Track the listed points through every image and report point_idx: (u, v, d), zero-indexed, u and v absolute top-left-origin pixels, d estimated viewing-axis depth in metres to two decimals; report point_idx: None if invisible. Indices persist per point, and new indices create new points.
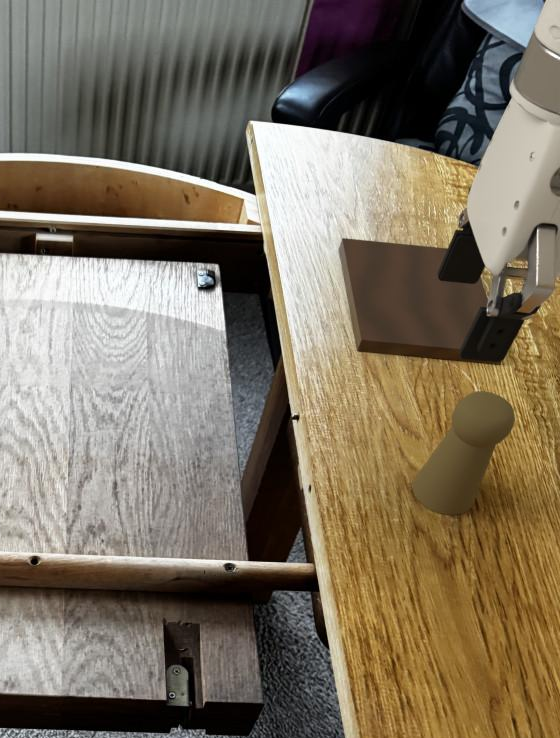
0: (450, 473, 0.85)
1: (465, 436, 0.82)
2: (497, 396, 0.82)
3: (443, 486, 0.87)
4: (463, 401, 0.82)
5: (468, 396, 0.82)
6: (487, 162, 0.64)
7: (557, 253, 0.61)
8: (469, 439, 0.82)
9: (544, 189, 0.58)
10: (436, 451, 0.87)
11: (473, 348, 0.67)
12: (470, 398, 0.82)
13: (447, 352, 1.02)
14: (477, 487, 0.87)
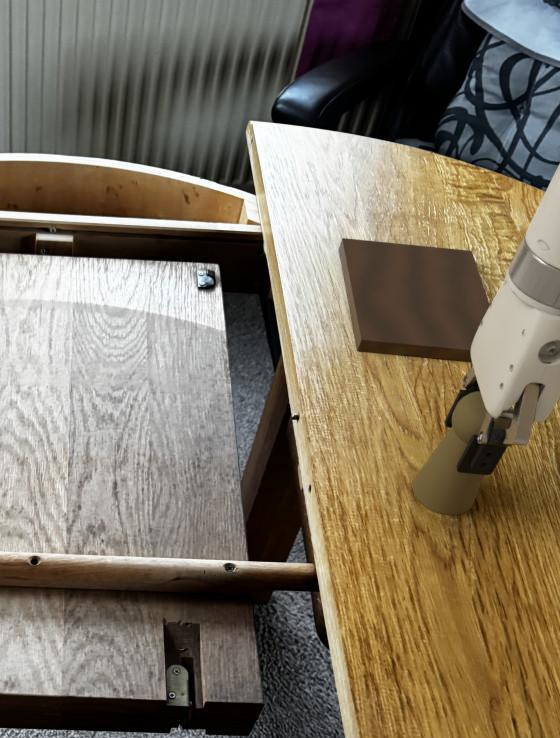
0: (450, 473, 0.85)
1: (465, 436, 0.82)
2: None
3: (443, 486, 0.87)
4: (463, 401, 0.82)
5: (468, 396, 0.82)
6: (487, 323, 0.78)
7: (544, 404, 0.75)
8: (469, 439, 0.82)
9: (533, 358, 0.72)
10: (436, 451, 0.87)
11: (467, 465, 0.83)
12: (470, 398, 0.82)
13: (447, 352, 1.02)
14: (477, 487, 0.87)
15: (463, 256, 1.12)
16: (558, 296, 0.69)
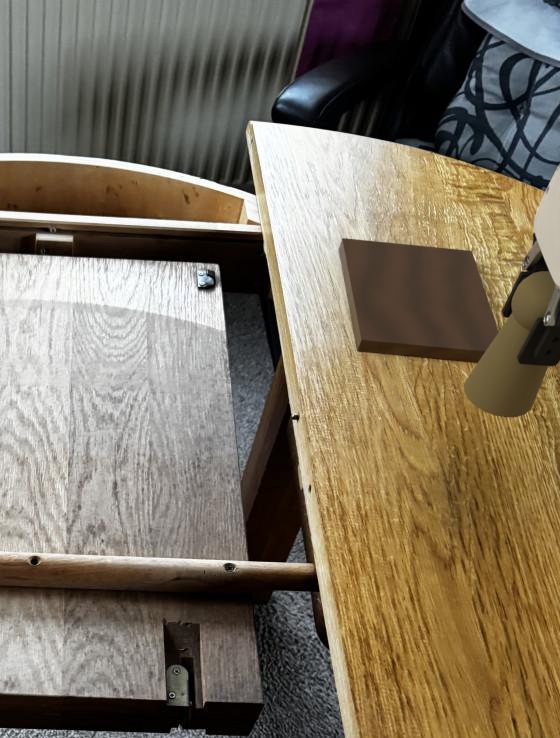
0: (509, 367, 0.76)
1: (528, 321, 0.73)
2: None
3: (500, 383, 0.78)
4: (525, 282, 0.73)
5: (531, 276, 0.73)
6: (555, 186, 0.69)
7: None
8: (532, 325, 0.73)
9: None
10: (492, 344, 0.78)
11: (530, 354, 0.74)
12: (533, 277, 0.73)
13: (447, 352, 1.02)
14: (538, 384, 0.78)
15: (463, 256, 1.12)
16: None
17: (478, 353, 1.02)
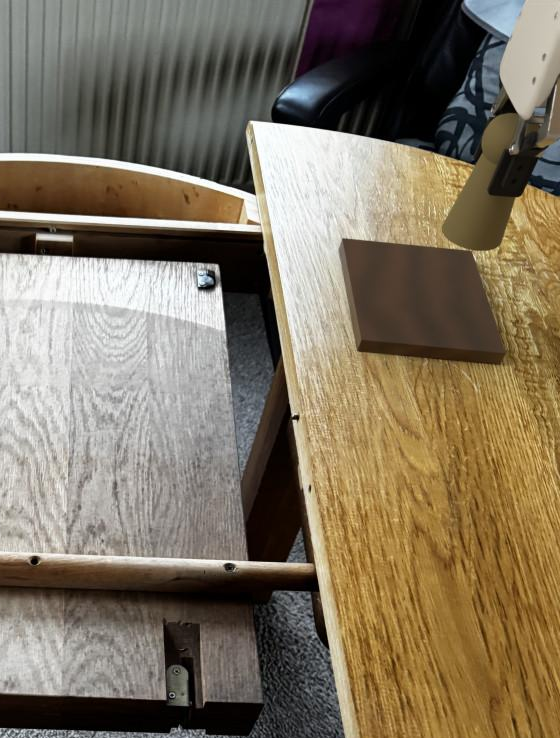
0: (480, 201, 0.88)
1: (496, 154, 0.85)
2: None
3: (473, 217, 0.89)
4: (493, 121, 0.85)
5: (497, 116, 0.85)
6: (517, 31, 0.81)
7: None
8: (499, 158, 0.85)
9: None
10: (465, 184, 0.89)
11: (498, 185, 0.86)
12: (500, 117, 0.85)
13: (447, 352, 1.02)
14: (506, 219, 0.90)
15: (463, 256, 1.12)
16: None
17: (478, 353, 1.02)
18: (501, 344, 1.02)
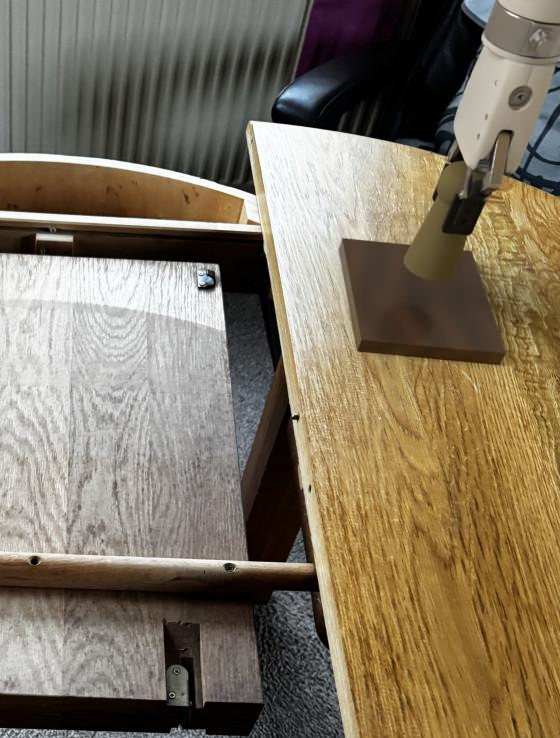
0: (436, 237, 1.00)
1: (448, 197, 0.96)
2: None
3: (430, 251, 1.01)
4: (446, 168, 0.96)
5: (451, 164, 0.96)
6: (467, 92, 0.92)
7: (514, 152, 0.89)
8: (451, 201, 0.96)
9: (504, 105, 0.86)
10: (424, 221, 1.01)
11: (450, 224, 0.97)
12: (452, 165, 0.96)
13: (447, 352, 1.02)
14: (459, 253, 1.01)
15: (463, 256, 1.12)
16: (524, 43, 0.83)
17: (478, 353, 1.02)
18: (501, 344, 1.02)
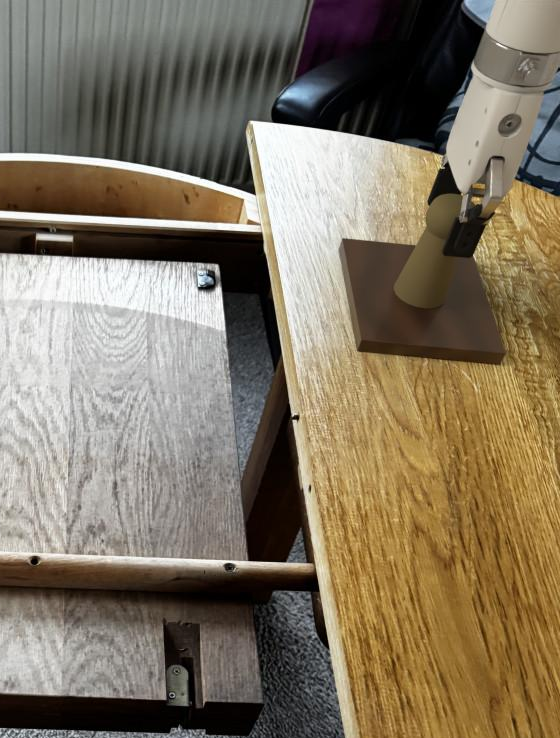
0: (425, 267, 1.02)
1: (436, 229, 0.99)
2: None
3: (419, 280, 1.03)
4: (434, 200, 0.99)
5: (438, 196, 0.99)
6: (459, 118, 0.94)
7: (505, 177, 0.91)
8: (439, 232, 0.99)
9: (494, 132, 0.88)
10: (413, 251, 1.04)
11: (451, 247, 0.97)
12: (440, 197, 0.99)
13: (447, 352, 1.02)
14: (447, 282, 1.04)
15: None
16: (512, 73, 0.85)
17: (478, 353, 1.02)
18: (501, 344, 1.02)
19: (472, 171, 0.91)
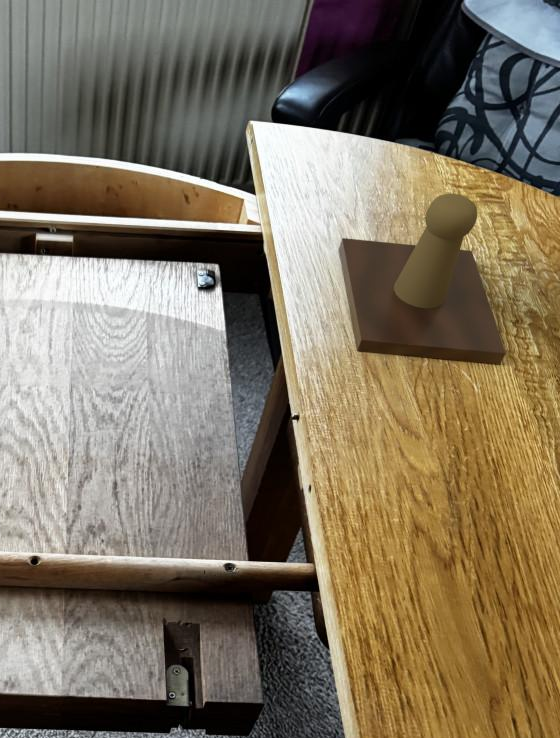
0: (425, 267, 1.02)
1: (436, 229, 0.99)
2: (463, 196, 0.99)
3: (419, 280, 1.03)
4: (434, 200, 0.99)
5: (439, 196, 0.99)
6: None
7: None
8: (439, 232, 0.99)
9: None
10: (413, 251, 1.04)
11: None
12: (440, 197, 0.99)
13: (447, 352, 1.02)
14: (447, 282, 1.04)
15: (463, 256, 1.12)
16: None
17: (478, 353, 1.02)
18: (501, 344, 1.02)
19: None
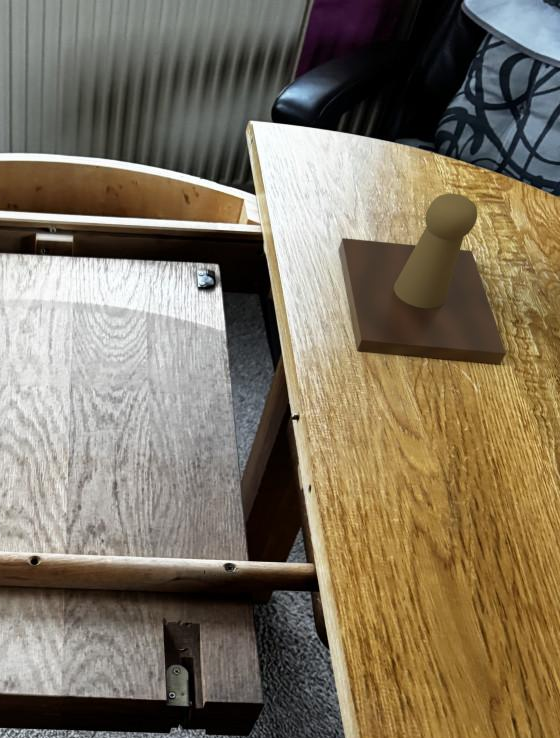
0: (425, 267, 1.02)
1: (436, 229, 0.99)
2: (463, 196, 0.99)
3: (419, 280, 1.03)
4: (434, 200, 0.99)
5: (439, 196, 0.99)
6: None
7: None
8: (439, 232, 0.99)
9: None
10: (413, 251, 1.04)
11: None
12: (440, 197, 0.99)
13: (447, 352, 1.02)
14: (447, 282, 1.04)
15: (463, 256, 1.12)
16: None
17: (478, 353, 1.02)
18: (501, 344, 1.02)
19: None
